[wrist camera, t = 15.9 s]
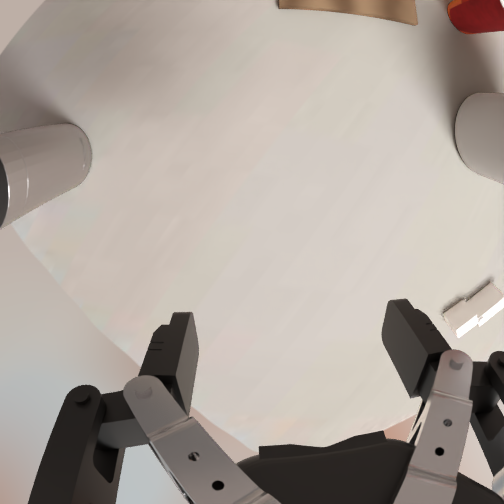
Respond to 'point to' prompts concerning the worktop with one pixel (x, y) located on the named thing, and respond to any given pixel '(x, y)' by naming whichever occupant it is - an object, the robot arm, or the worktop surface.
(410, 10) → the board
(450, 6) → the paper cup
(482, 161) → the cylinder vase
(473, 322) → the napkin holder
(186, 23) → the worktop surface
